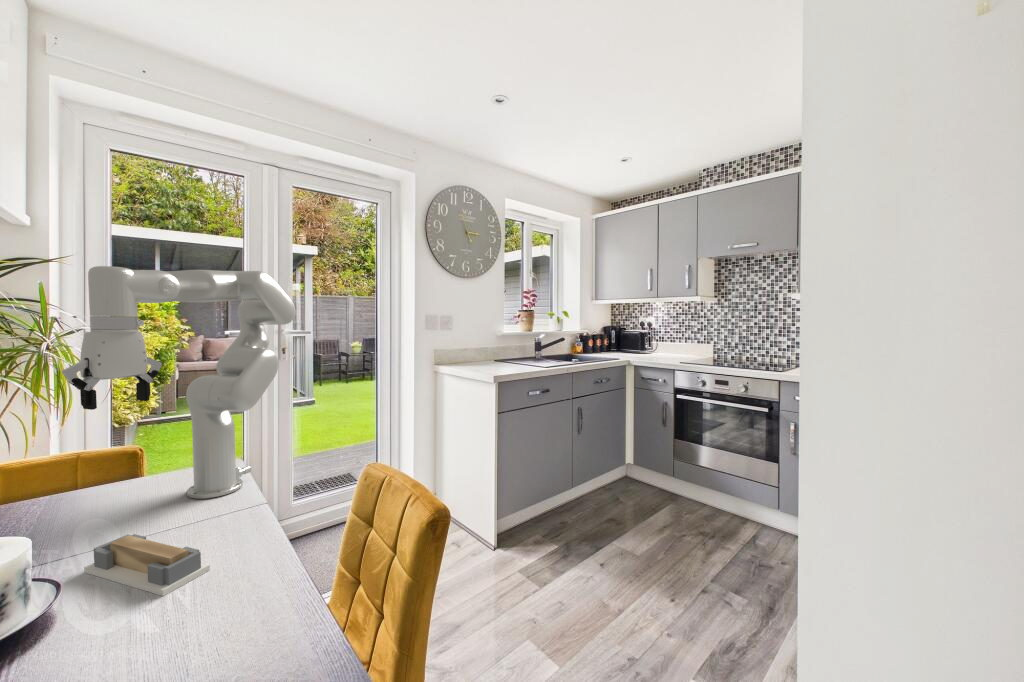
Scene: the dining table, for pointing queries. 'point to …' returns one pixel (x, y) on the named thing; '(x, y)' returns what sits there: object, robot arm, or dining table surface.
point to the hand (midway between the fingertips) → (117, 404)
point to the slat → (143, 553)
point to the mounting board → (158, 575)
